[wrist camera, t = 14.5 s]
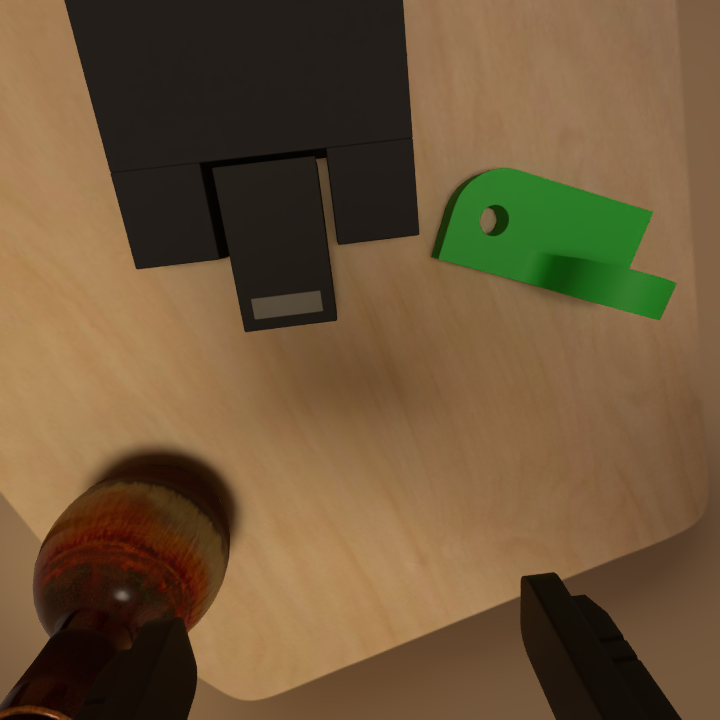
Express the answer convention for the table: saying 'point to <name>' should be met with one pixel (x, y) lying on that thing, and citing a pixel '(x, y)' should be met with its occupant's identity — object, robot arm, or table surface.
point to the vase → (118, 579)
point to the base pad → (247, 110)
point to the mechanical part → (552, 240)
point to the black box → (277, 242)
